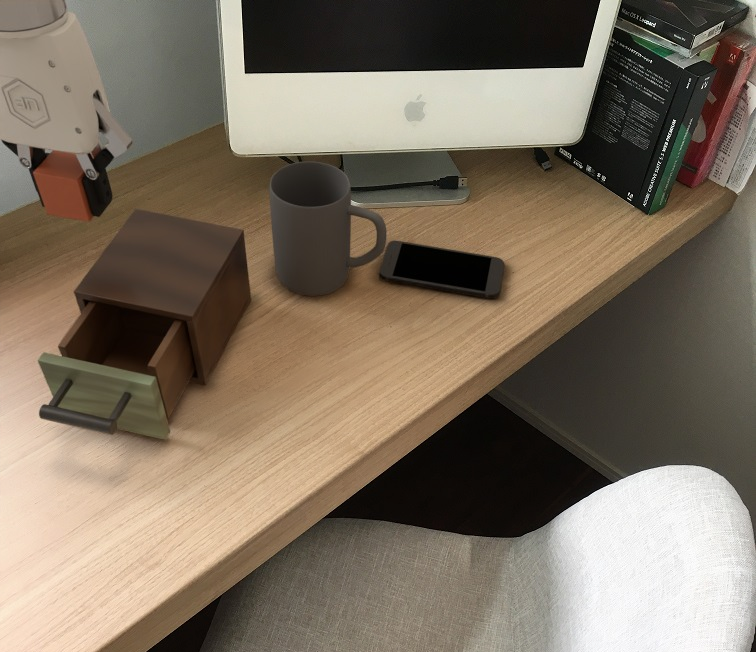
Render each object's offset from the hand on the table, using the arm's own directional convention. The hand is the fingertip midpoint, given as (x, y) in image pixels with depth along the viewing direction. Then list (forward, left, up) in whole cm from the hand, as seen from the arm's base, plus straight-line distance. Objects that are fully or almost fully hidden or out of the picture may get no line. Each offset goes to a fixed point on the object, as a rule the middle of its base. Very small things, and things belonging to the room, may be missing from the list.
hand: (77, 202), depth 77 cm
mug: (+21, +15, -16) cm, 30 cm away
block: (0, 0, 0) cm, 0 cm away
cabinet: (+7, +1, -16) cm, 17 cm away
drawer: (+7, -11, -15) cm, 20 cm away
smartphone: (+34, +20, -16) cm, 43 cm away
